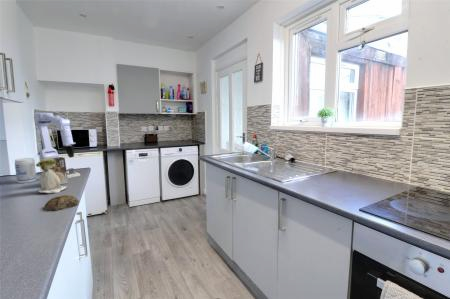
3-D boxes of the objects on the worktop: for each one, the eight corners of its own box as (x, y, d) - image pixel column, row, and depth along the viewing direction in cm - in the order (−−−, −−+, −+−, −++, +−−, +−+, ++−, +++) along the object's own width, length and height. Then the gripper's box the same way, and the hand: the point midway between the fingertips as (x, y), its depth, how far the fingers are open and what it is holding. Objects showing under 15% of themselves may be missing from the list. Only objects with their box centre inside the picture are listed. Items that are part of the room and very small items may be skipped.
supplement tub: (13, 184, 140) (10, 161, 138) (22, 180, 149) (19, 158, 147) (32, 182, 143) (29, 159, 140) (39, 178, 152) (36, 157, 149)
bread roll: (72, 199, 113) (71, 189, 113) (82, 205, 106) (80, 194, 105) (40, 207, 104) (39, 197, 103) (48, 214, 96) (46, 203, 95)
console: (50, 176, 158) (49, 171, 157) (71, 172, 168) (71, 167, 167) (57, 179, 148) (57, 174, 147) (80, 175, 158) (79, 170, 158)
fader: (69, 173, 158) (68, 168, 157) (73, 172, 160) (72, 167, 159) (70, 173, 157) (69, 168, 156) (74, 173, 159) (73, 168, 158)
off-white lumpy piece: (47, 195, 118) (42, 161, 115) (32, 193, 123) (27, 159, 120) (70, 189, 129) (66, 157, 126) (55, 186, 134) (51, 156, 131)
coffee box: (64, 181, 144) (61, 156, 142) (68, 183, 141) (65, 157, 138) (47, 185, 137) (43, 159, 135) (50, 186, 133) (47, 160, 131)
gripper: (73, 134, 146) (77, 155, 146) (74, 137, 158) (79, 156, 159) (59, 136, 142) (64, 157, 143) (62, 138, 155) (67, 158, 155)
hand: (71, 157), depth 151 cm, fingers open, 7 cm apart
